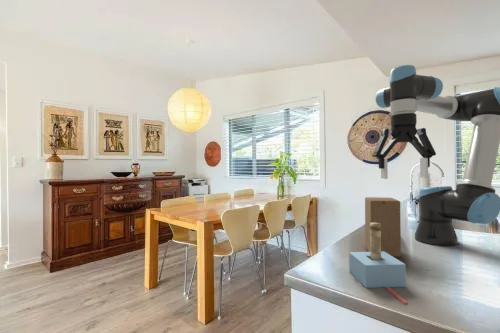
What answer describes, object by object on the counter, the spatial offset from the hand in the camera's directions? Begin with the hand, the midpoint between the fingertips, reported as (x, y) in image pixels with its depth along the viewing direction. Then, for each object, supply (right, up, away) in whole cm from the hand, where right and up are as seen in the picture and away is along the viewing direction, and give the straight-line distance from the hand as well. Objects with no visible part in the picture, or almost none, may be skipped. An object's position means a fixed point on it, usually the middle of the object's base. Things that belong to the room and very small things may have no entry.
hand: (404, 178), depth 91 cm
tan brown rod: (-15, -29, -12) cm, 34 cm away
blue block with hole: (-15, -29, -12) cm, 34 cm away
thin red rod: (-15, -29, -23) cm, 39 cm away
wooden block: (-2, -29, +11) cm, 31 cm away
